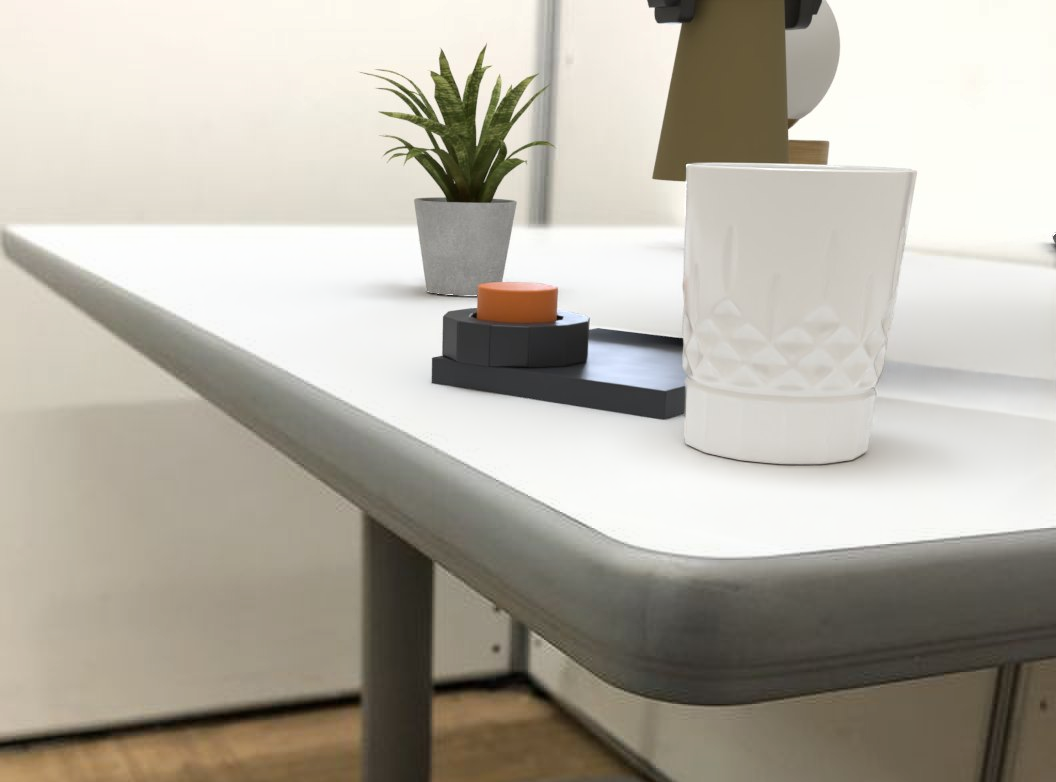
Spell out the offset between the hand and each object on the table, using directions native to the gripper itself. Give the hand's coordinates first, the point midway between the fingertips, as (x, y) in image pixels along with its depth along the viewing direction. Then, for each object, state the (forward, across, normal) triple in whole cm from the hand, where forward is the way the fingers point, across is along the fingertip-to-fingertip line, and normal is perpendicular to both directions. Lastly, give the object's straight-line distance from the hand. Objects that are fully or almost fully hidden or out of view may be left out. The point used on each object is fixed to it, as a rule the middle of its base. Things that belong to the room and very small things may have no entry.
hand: (732, 24), depth 60 cm
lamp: (+16, -44, -63) cm, 79 cm away
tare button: (+13, +9, -2) cm, 16 cm away
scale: (+15, +3, -1) cm, 16 cm away
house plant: (+16, -3, -38) cm, 41 cm away
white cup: (+16, +5, +13) cm, 21 cm away
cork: (+7, 0, 0) cm, 7 cm away
